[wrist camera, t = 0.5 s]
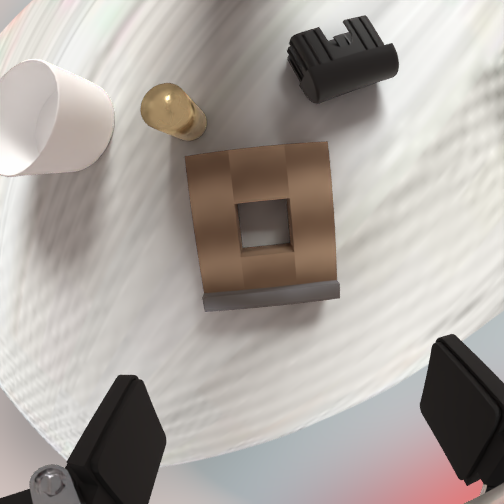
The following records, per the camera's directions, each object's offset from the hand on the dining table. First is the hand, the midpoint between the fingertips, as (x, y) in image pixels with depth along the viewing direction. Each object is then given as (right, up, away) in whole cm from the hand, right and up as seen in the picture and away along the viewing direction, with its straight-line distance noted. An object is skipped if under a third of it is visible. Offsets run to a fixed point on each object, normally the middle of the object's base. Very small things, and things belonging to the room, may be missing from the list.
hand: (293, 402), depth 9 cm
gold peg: (-8, +19, +23) cm, 31 cm away
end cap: (+8, +25, +22) cm, 34 cm away
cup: (-23, +20, +23) cm, 39 cm away
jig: (0, +8, +26) cm, 27 cm away
